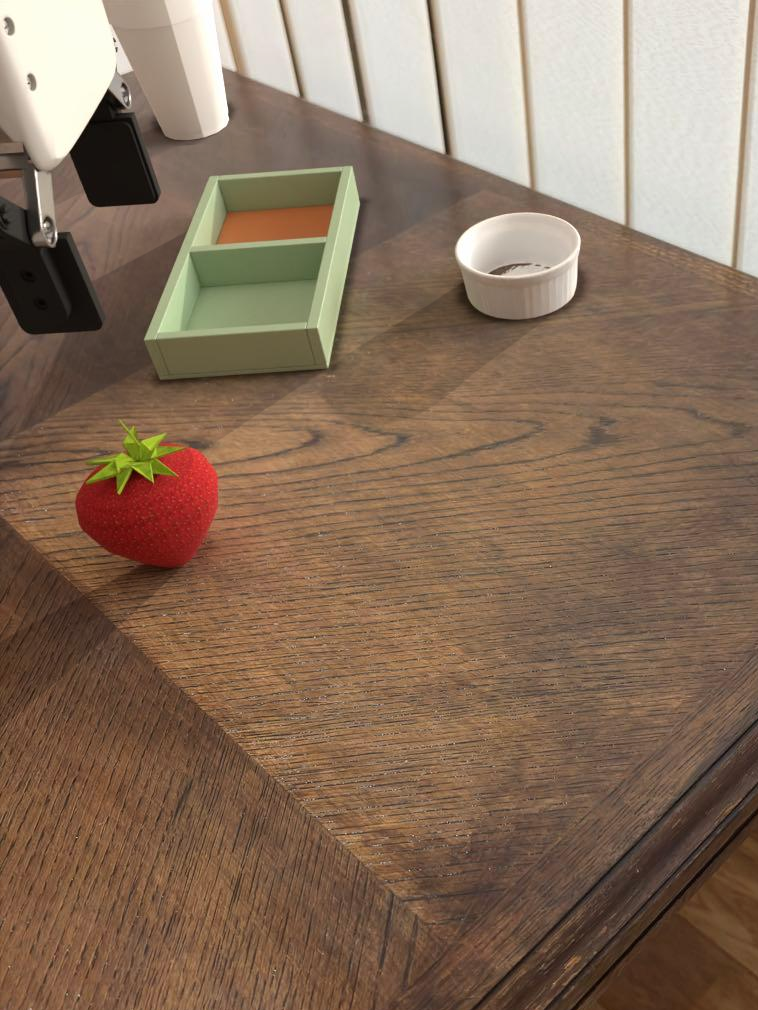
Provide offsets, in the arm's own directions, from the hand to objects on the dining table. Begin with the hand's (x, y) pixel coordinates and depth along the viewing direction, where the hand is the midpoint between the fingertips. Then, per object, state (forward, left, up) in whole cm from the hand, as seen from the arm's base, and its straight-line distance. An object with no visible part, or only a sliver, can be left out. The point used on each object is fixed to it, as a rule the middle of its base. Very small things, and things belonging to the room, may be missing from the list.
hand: (99, 260), depth 45 cm
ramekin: (+17, +27, -21) cm, 38 cm away
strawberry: (-3, +2, -21) cm, 21 cm away
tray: (-2, +30, -21) cm, 36 cm away
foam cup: (-14, +60, -21) cm, 65 cm away
